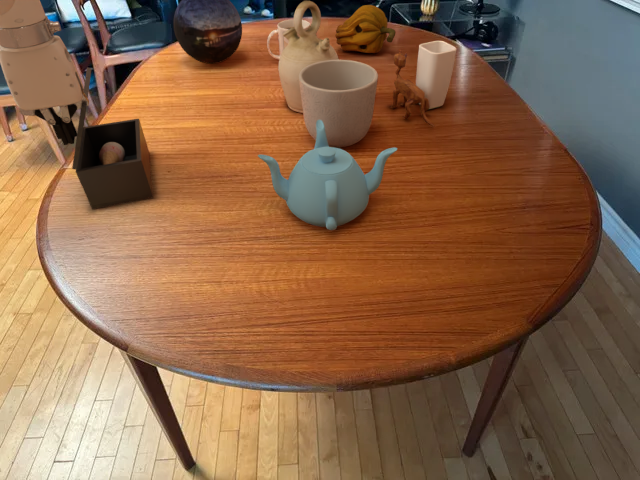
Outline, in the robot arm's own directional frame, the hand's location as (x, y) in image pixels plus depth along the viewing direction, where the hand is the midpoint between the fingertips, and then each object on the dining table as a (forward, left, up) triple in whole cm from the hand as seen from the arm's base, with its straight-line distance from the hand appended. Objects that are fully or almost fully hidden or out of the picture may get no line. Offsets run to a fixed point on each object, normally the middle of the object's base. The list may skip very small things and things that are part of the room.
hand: (69, 140), depth 83 cm
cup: (+82, +17, -14) cm, 84 cm away
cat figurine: (+75, +13, -14) cm, 77 cm away
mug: (+56, +58, -14) cm, 81 cm away
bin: (+5, +7, -14) cm, 16 cm away
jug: (+53, +28, -14) cm, 61 cm away
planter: (+54, +9, -14) cm, 56 cm away
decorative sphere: (+33, +67, -14) cm, 75 cm away
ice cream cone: (+4, +6, -11) cm, 13 cm away
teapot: (+44, -14, -14) cm, 48 cm away
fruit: (+81, +58, -14) cm, 100 cm away
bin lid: (+2, +7, +1) cm, 7 cm away
